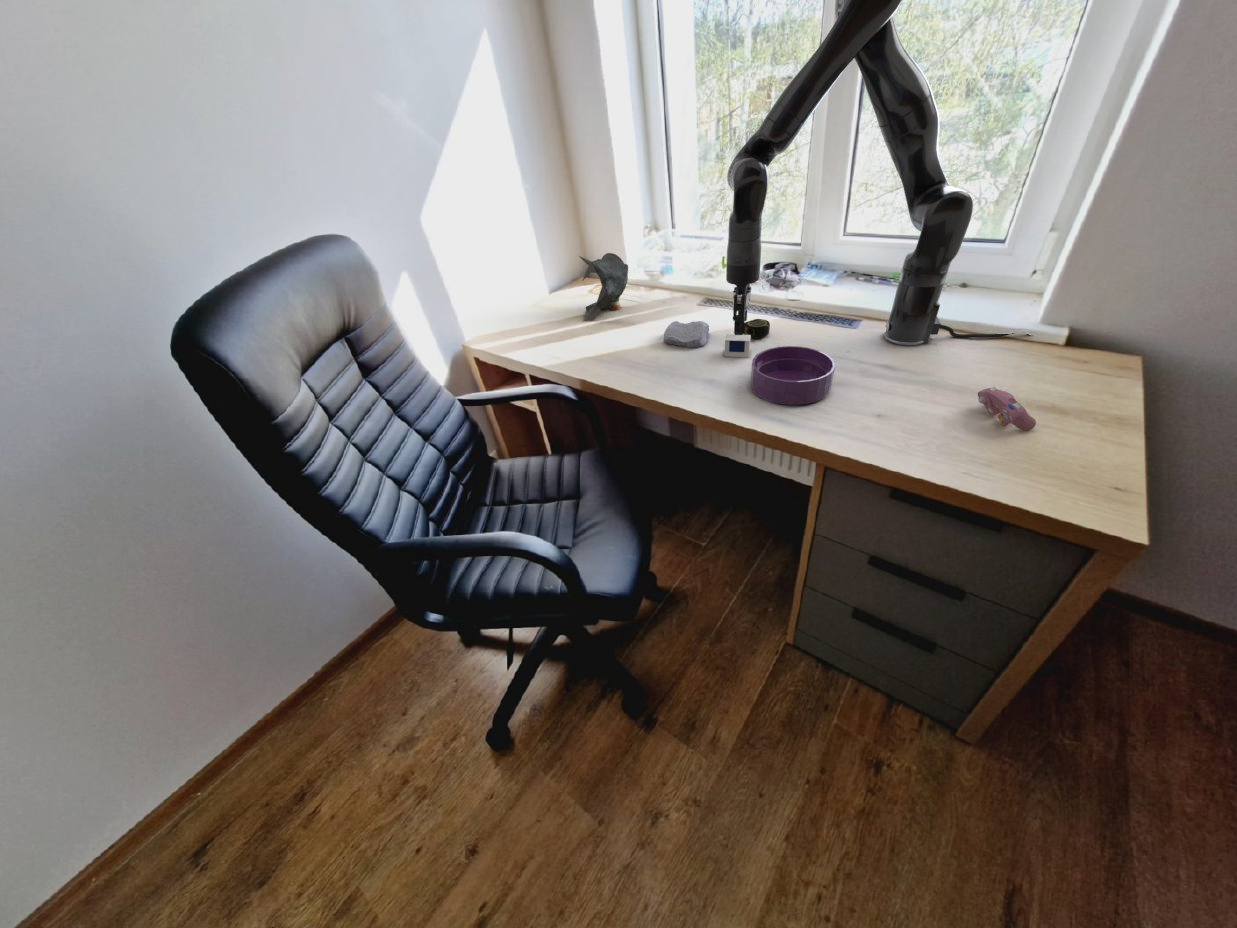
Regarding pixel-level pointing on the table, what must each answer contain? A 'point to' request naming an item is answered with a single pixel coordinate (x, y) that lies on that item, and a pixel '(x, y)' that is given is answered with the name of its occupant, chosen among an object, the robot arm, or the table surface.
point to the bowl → (792, 375)
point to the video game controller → (1006, 408)
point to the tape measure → (757, 328)
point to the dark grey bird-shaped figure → (607, 283)
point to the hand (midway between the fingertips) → (740, 327)
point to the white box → (737, 345)
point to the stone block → (687, 334)
